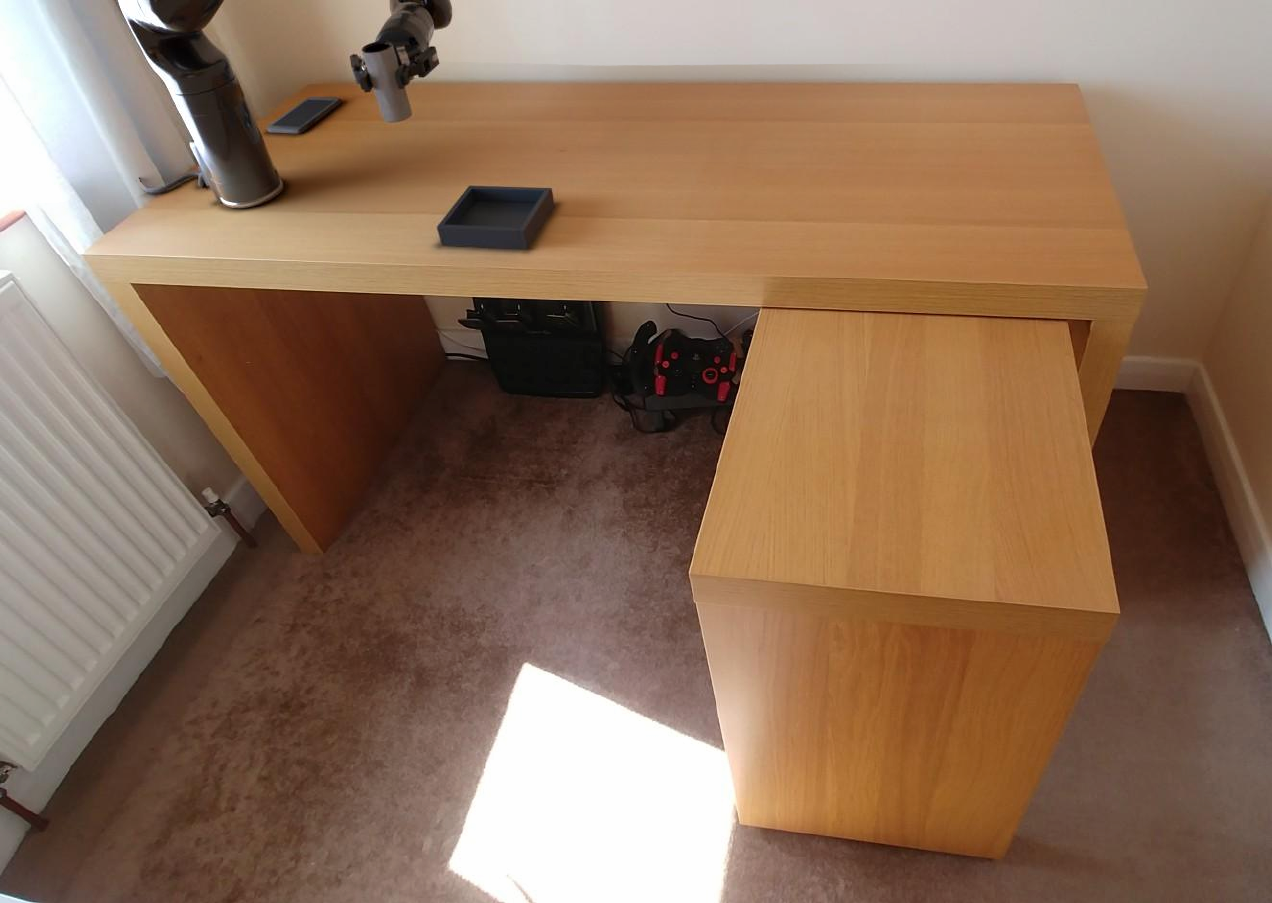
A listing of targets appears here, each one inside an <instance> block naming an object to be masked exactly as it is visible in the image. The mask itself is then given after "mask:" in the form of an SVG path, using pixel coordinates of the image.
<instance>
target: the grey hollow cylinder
mask: <svg viewBox="0 0 1272 903" xmlns="http://www.w3.org/2000/svg"><path fill="white" fill-rule="evenodd" d="M361 53H362V57H363V58H364V60H365V63H366V67H367V70H368V73H369V76H370V79H371V83H372V86H373V88H372V90H373V92H374V95H375V99H376V102H377V104H378V108H379V112H380V115H381V118H382V120H383V121H384V122H386V123H390V124H391V123H399V122H400V123H401V122H404V121H406V120H408V119H410V118H411V117H412V115H413V111H412V107H411V104H410V100H409V97H408V93H407V90H406V87H405V88H404V89H399V87H398V84H397V80H396V77H395V74H396V72H397V70H398V68H399V65H398V62H397V58H396V55H395V51H394V48H393V44H392V43H391V42H388V41H379V42H375V41H374V42H371V43H368V44H365V45H364V46H363V47H362V48H361Z"/></svg>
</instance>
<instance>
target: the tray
mask: <svg viewBox="0 0 1272 903" xmlns="http://www.w3.org/2000/svg"><path fill="white" fill-rule="evenodd" d="M555 207H556V205H555V198H554V195H553V189H552V187H534V186H533V187H532V186H531V187H529V186H528V187H527V186H500V185H499V186H494V185H468V187H467V188H465V190H464V191H463V193H462V194H461V195H460V197H459V198H458V199H457V201H456V202H455V203H454V204H453V205H452V207H451V208H450V209H449V210H448V212H447V213H446V214H445V216H444V217H443V218H442V219H441V220H440V222H439V223H438V224H437V225H436V230H437V233H438V237H439V240H440V243H441V246H445V247H446V246H447V247H466V248H467V247H468V248H485V249H486V248H487V249H507V250H509V249H510V250H527V251H528V250H529V249H530V247H531V246H532V244H533V243H534V240H535V239H536V237H537V236H538V235H539V232H540V231H541V229H542V227H543V226H544V224H545V223H546V221H547V220H548V218H549V216H550V214H551V213H552V211H553V210H554V208H555Z"/></svg>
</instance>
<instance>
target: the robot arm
mask: <svg viewBox="0 0 1272 903" xmlns="http://www.w3.org/2000/svg"><path fill="white" fill-rule="evenodd" d="M116 1H117V4H118V6H119V9H120V10H121V13H122V15H123V16H124V19H125V20H126V23H127V25H128V27H129V29H130V30H131V32H132V34H133V36H134V38H135V39H136V42H137V44H138V45H139V47H140V50H141V52H142V53H143V55H144V56H145V58H146V60H147V62H148V64H149V65H150V67H151V68H152V70H154V72H155V73H156V74H157V75H158V76H159V77H160V78H161V79H162V81H163V82H164V84H165V86H166V88H167V90H168V92H169V93H170V97H171V98H172V100H173V102H174V104H175V106H176V108H177V110H178V112H179V114H180V116H181V118H182V120H183V123H184V124H185V126H186V129H187V130H188V132H189V133H188V134H190V138H192V140H191V141H190V142H189V146H190V149H191V150H192V153H193V155H194V156H195V158H196V161H197V162H198V166H197V169H198V171H193V172H188V173H186V174H184V175H181V176H179V177H178V178H176V179H174V180H172V181H171V182H169V183H166V184H165V185H162V186H158V187H147V186H146V187H147V188H146V189H144V190H143V191H144V192H145V193H149V194H155V193H157V194H158V193H161V192H164V191H168V190H169V189H171V188H173V187H176V186H177V185H178V184H181V183H183V182H184V181H187V180H189V179H192V178H194V177H195V178H196V177H198V180H197V182H198V183H197V185H198V187H199V188H203V187H204V185H206V186H207V187H209V188H210V189H211V191H212V193H213V195H214V197H215V200H216V201H217V203H222V204H223V205H224V206H226V207H228V208H232V209H245V208H250V207H255V206H259V205H261V204H264V203H267V202H269V201H271V200H272V199H274V198H275V197H277V196H278V195H280V194H281V192H282V191H283V189H284V183H283V180H282V179H281V177H280V174H279V171H278V169H277V167H276V165H275V164H274V161H273V159H272V157H271V154H270V152H269V149H268V147H267V145H266V142H265V140H264V138H263V136H262V132H261V131H260V128H259V126H258V124H257V121H256V119H255V117H254V115H253V114H254V113H253V111H252V110H251V107H250V105H249V102H248V100H247V98H246V95H245V93H244V91H243V88H242V86H241V84H240V81H239V79H238V77H237V74H236V72H235V70H234V67H233V64H232V63H231V61H230V59H229V57H228V56H227V54H226V53H225V52H224V51H223V50H221V49H220V48H219V47H217V46H216V45H215V44H214V43H213V42H212V41H211V40H210V38H208V36H207V35H206V34H205V33H204V31H203V29H205V28H206V27H207V26H208V25H209V23H210V22H211V21H212V20H213V18H214V17H215V16H216V14H217V12H218V11H219V9H220V8H221V6H222V5H223V3H224V1H225V0H116ZM388 2H389V4H388V5H389V11H390V16H389V17H388V18H387V19H386V21H385V22H384V24H383V25H382V27H381V29H380V31H379V32H378V34H377V35H376V38H375V40H374V42H379V41H388V42H391V43H392V44H393V48H394V51H395V55H396V58H397V62H398V65H399V68H398V70H397V72H396V74H395V77H396V80H397V84H398V87H399V89H404V88H405V89H406V86H408V85H410V82H411V81H413V80H414V79H415V77H416V76H418V78H421V79H424V78H426V77H427V76H429V74H430V73H431V72H432V71H433V70H435V69H436V68H437V67H438V66H439V65H440V60H439V55H438V51H437V48H436V46H434V45H431V46H430V43H431V41H432V39H433V37H434V32H435V31H437V30H443V29H446V28H448V27H449V26H450V24H451V23H452V19H453V15H454V14H453V5H452V2H451V0H389V1H388ZM349 60H350V67H351V70H352V74H353V78H354V80H355V83H356V84H357V85H360V89H361V90H363V91H364V93H365V94H366V93H371V92H372V90H373V86H372V83H371V79H370V76H369V73H368V70H367V67H366V63H365V60H364V57H363V58H362V56H360V55H358V54H356V53H352V54H351V55H350V56H349Z"/></svg>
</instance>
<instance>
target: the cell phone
mask: <svg viewBox="0 0 1272 903" xmlns="http://www.w3.org/2000/svg"><path fill="white" fill-rule="evenodd" d="M340 104H342V99H341V98H340V97H332V96H331V97H330V96H329V97H328V96H307V97H306V98H305V99H304V100H302V101H300V102H299V103H297V104H296V105H295V106H294V107H293V108H291V109H290V110H288V111H286V113H284V114H283V115H281V116H280V117H279V118H276V120H274V121H273V122H271V123H270V124H269V125H267V127H266V130H267V132H268V133H277V134H279V133H280V134H297V135H298V134H302V133H303V132H305V131H306V130H308V129H309V128H311V126H313V125H314V124H316V123H317V122H318V121H320V120H321V119H322V118H323V117H325V116H326V115H327V114H329V113H330V112H331V111H333V110H334V109H335V108H337V107H338V106H339V105H340Z"/></svg>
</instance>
